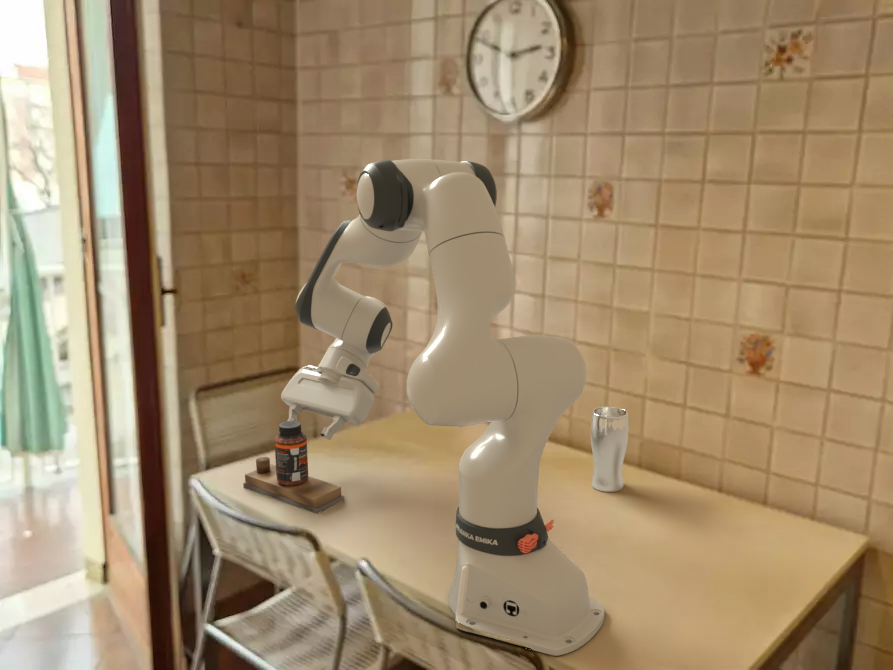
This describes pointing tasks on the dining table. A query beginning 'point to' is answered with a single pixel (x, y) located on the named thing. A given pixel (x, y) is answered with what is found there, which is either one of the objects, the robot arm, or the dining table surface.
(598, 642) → the dining table surface
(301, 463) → the supplement bottle
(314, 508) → the body
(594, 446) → the beer glass
